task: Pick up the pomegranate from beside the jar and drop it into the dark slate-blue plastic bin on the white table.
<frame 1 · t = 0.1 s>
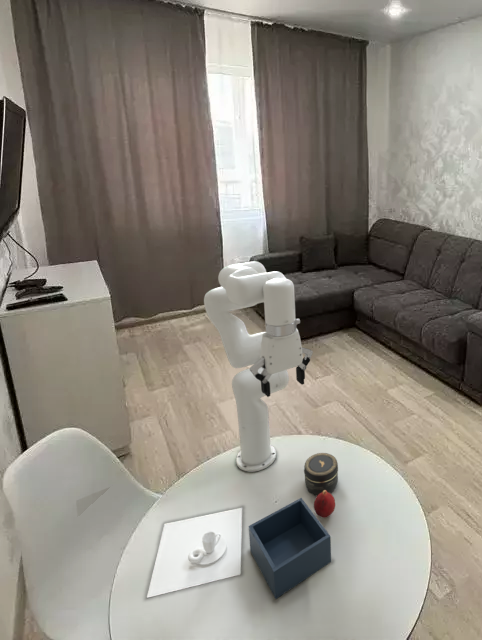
hand: (284, 388, 108), 37 cm above the table, tool pointing down, fingers open, 9 cm apart
teacup and saucer: (200, 548, 104), on the table
pomegranate: (324, 516, 113), on the table
bin: (290, 556, 101), on the table
jar: (321, 485, 124), on the table
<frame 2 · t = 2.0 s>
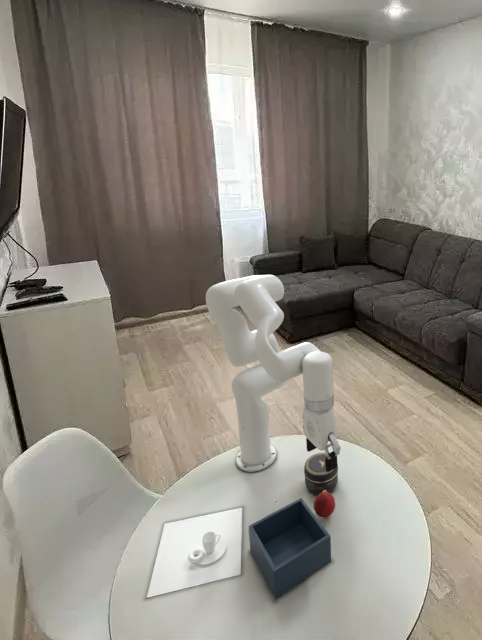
hand: (321, 458, 109), 18 cm above the table, tool pointing down, fingers open, 9 cm apart
nothing on the table moved.
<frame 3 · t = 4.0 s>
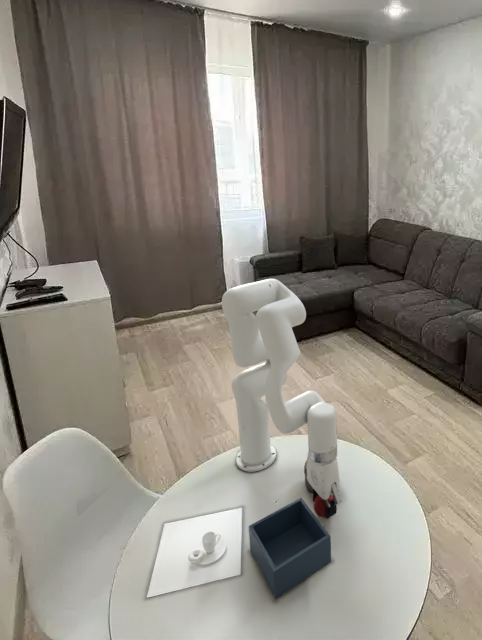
hand: (324, 507, 112), 3 cm above the table, tool pointing down, fingers closed on pomegranate, 5 cm apart
pomegranate: (324, 516, 113), on the table, touching gripper
everything else where it was.
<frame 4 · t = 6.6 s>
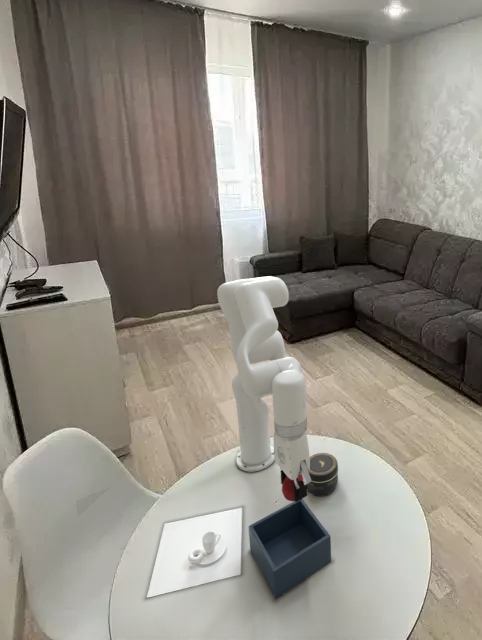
hand: (294, 489, 99), 18 cm above the table, tool pointing down, fingers closed on pomegranate, 5 cm apart
pomegranate: (294, 500, 100), point 14 cm above the table, touching gripper
everything else where it was.
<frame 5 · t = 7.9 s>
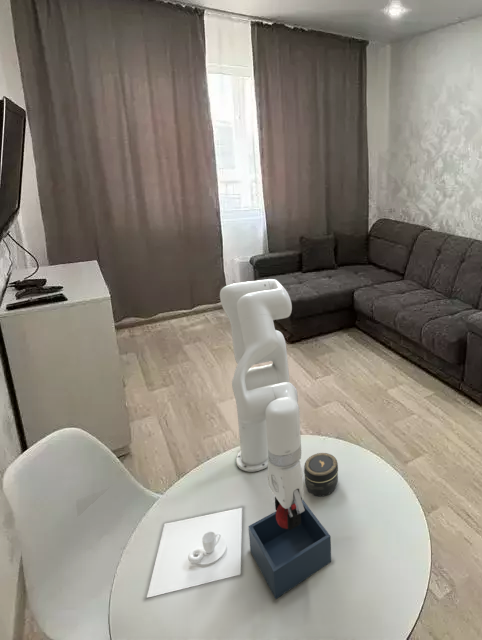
hand: (288, 516, 99), 12 cm above the table, tool pointing down, fingers closed on pomegranate, 5 cm apart
pomegranate: (288, 527, 99), point 9 cm above the table, touching gripper
everything else where it was.
when the fingers open (9 cm above the table, at t = 9.0 s): pomegranate drops 5 cm, resting on bin.
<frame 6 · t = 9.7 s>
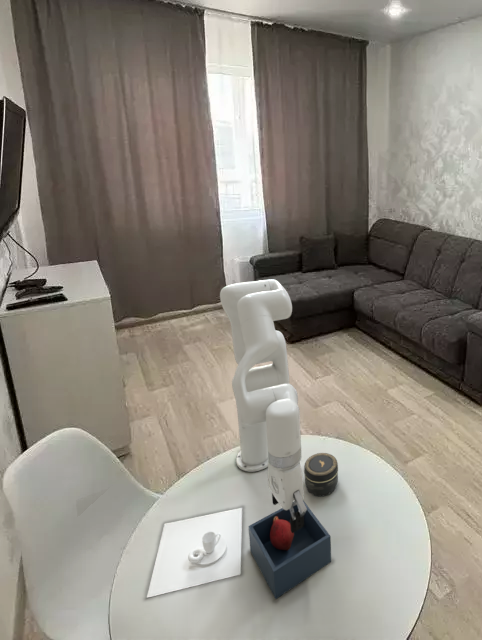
hand: (287, 514, 99), 12 cm above the table, tool pointing down, fingers open, 9 cm apart
pomegranate: (288, 550, 101), point 1 cm above the table, touching bin
everything else where it was.
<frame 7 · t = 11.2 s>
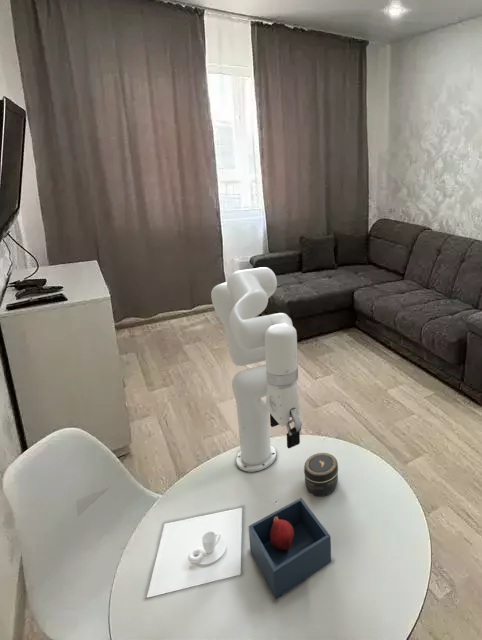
hand: (284, 434, 105), 27 cm above the table, tool pointing down, fingers open, 9 cm apart
nothing on the table moved.
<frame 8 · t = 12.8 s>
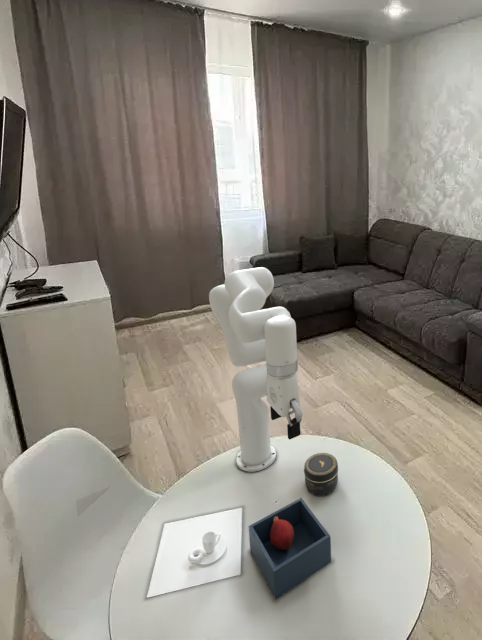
hand: (285, 427, 106), 28 cm above the table, tool pointing down, fingers open, 9 cm apart
nothing on the table moved.
at the end: pomegranate inside the target area in the bin (0.5 cm from its centre), point 1.3 cm above the bin's base; the gripper is holding nothing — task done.
